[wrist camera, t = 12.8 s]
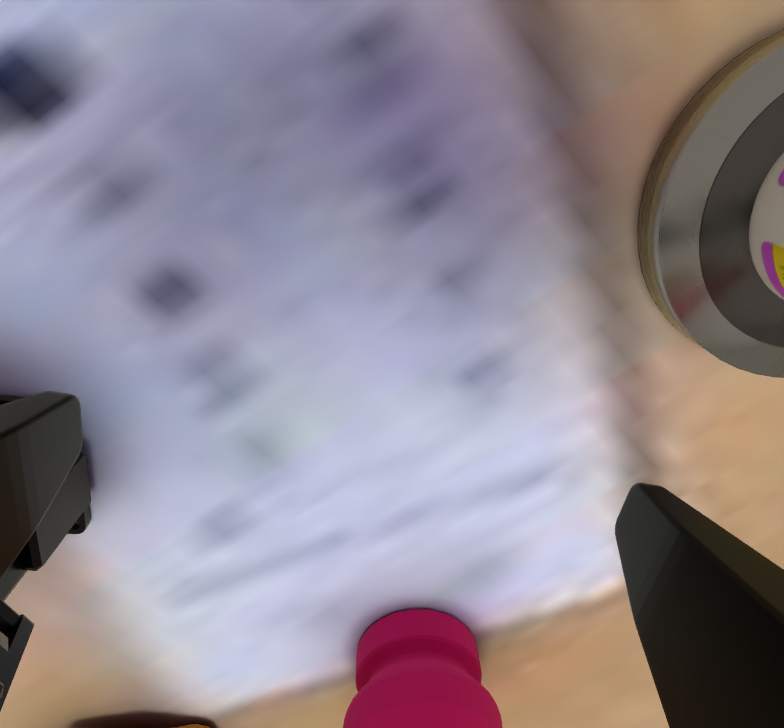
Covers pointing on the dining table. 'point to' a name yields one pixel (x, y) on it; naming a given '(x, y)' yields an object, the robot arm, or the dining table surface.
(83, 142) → the dining table surface
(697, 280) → the dark grey bowl
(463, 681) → the pepper mill
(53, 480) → the robot arm
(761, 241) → the supplement bottle
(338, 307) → the dining table surface
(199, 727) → the coffee package
